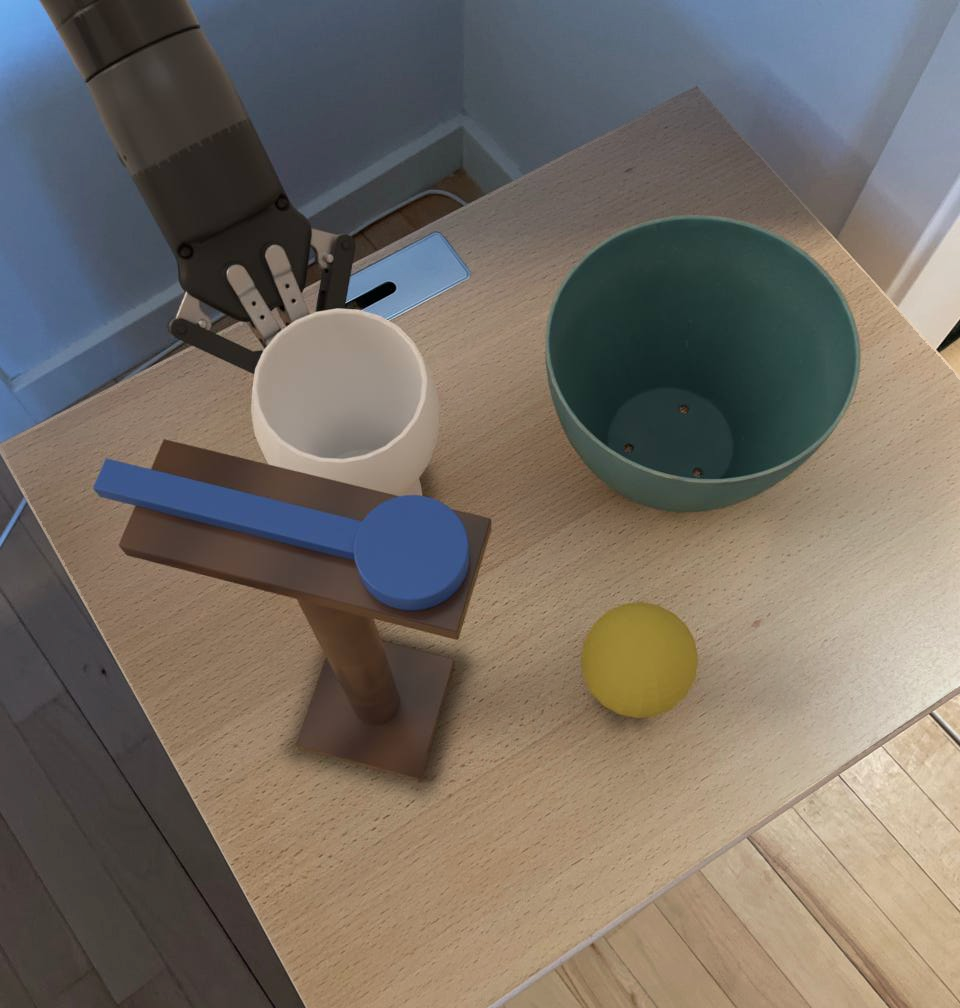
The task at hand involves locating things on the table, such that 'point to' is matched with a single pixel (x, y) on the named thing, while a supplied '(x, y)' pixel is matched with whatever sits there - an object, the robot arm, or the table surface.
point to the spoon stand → (322, 607)
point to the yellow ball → (639, 660)
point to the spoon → (320, 530)
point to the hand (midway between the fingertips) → (327, 415)
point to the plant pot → (699, 360)
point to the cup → (347, 402)
